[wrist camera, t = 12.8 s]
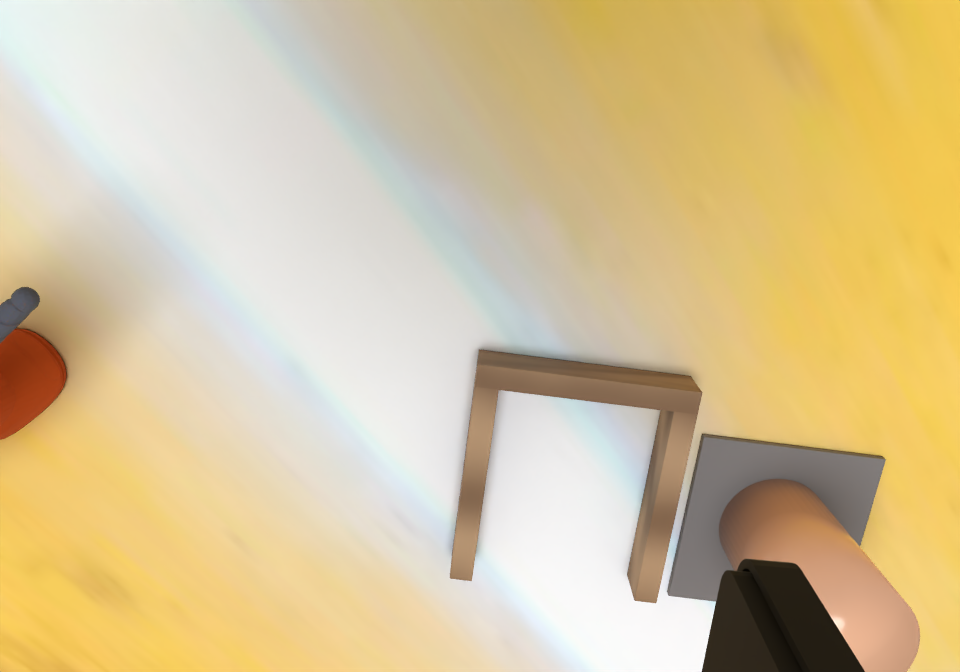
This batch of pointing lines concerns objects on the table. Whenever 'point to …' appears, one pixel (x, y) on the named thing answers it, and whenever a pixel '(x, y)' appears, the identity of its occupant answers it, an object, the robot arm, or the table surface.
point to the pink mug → (823, 568)
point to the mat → (745, 462)
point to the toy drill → (25, 366)
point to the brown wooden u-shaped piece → (597, 385)
